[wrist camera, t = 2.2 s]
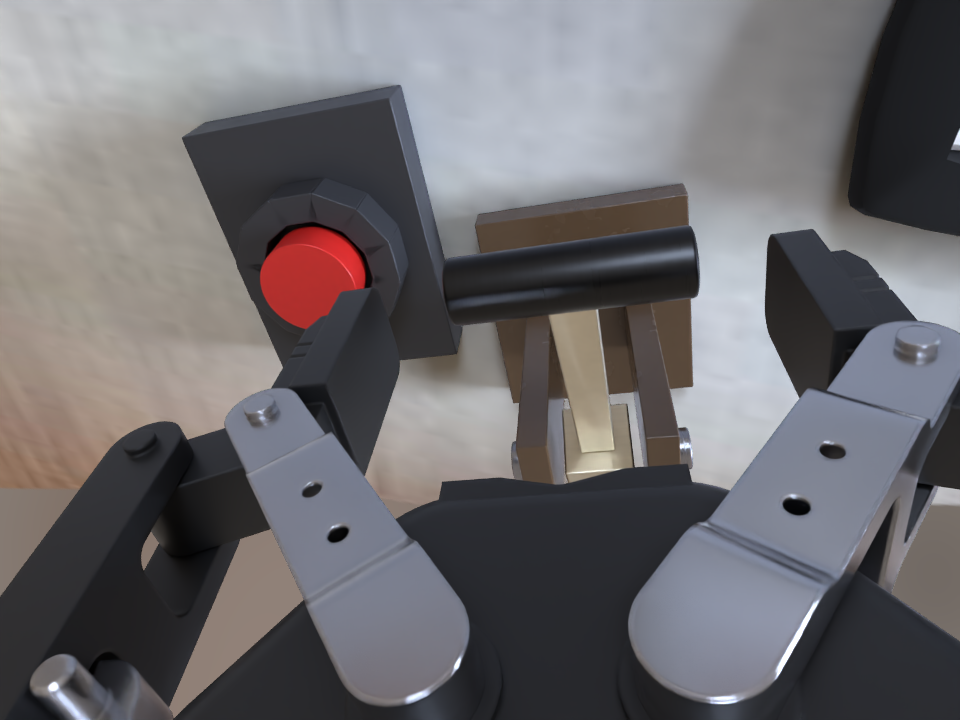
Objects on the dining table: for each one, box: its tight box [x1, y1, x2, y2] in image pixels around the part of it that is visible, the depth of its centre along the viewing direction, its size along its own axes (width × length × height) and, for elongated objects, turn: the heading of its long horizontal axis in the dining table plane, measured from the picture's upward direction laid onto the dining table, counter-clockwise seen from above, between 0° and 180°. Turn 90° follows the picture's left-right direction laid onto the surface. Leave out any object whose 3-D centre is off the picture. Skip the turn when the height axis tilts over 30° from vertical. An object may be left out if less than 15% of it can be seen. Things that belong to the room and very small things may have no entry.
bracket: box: [475, 184, 693, 485], centre depth 27 cm, size 10×9×13 cm
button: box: [260, 226, 366, 329], centre depth 28 cm, size 4×4×2 cm
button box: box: [182, 85, 462, 367], centre depth 30 cm, size 12×9×4 cm
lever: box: [442, 225, 700, 483], centre depth 19 cm, size 12×5×2 cm, turn 11°
